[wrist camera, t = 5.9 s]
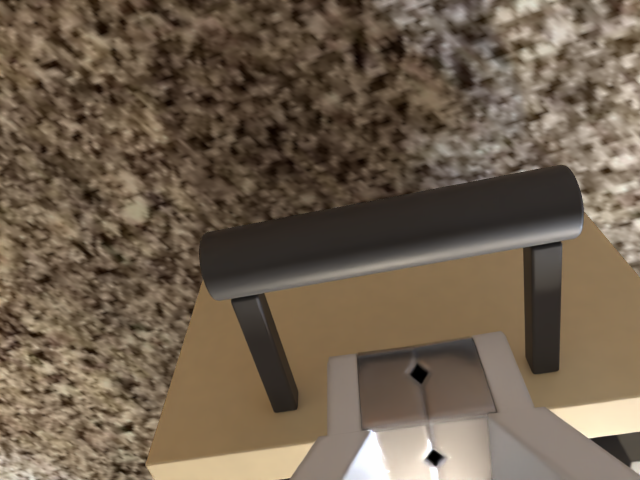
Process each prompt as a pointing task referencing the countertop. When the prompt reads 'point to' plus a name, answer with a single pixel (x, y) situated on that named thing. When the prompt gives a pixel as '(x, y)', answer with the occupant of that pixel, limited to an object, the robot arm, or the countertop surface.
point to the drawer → (400, 317)
